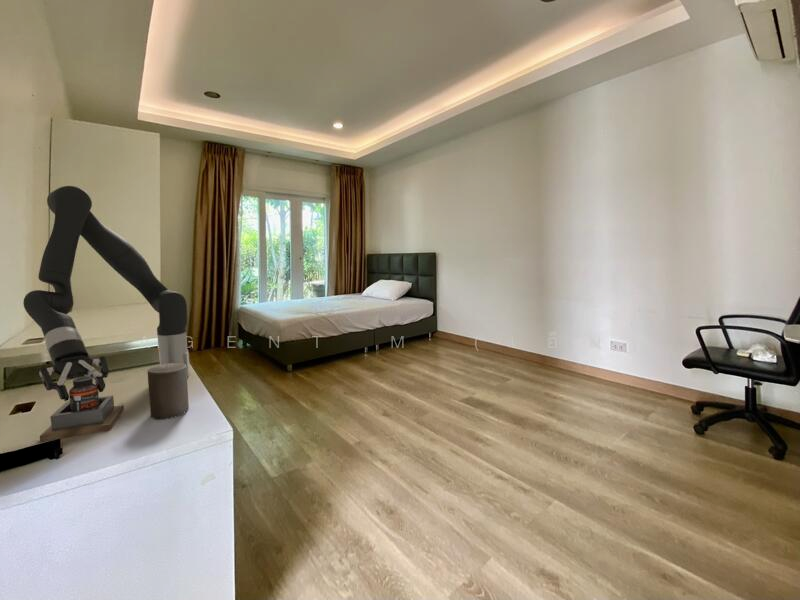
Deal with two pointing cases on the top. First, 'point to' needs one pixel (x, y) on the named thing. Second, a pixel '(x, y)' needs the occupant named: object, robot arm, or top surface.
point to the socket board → (83, 427)
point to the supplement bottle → (83, 394)
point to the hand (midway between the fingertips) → (85, 394)
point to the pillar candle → (168, 390)
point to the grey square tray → (82, 415)
